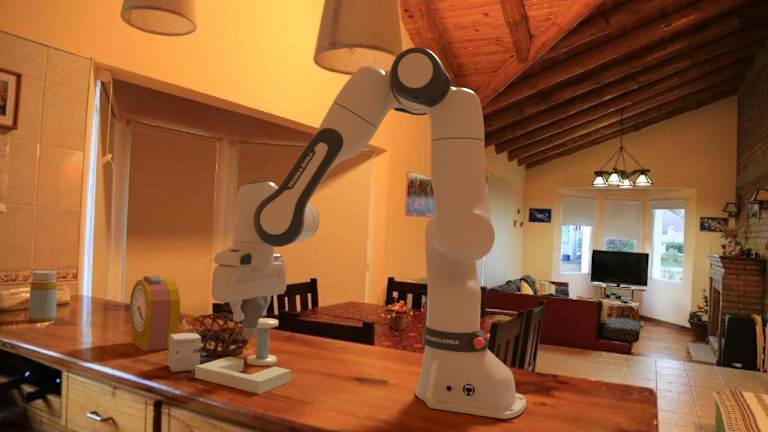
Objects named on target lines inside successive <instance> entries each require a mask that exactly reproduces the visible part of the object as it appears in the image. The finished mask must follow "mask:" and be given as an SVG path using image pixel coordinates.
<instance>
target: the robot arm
mask: <svg viewBox="0 0 768 432" xmlns="http://www.w3.org/2000/svg"><path fill="white" fill-rule="evenodd" d="M446 71H447V70H446V69H445V67H444V66H443V64H442V62H441V61H440V59H439V58H438V56H437V55H435V54H434V53H433V52H432V51H430V49H426V48H424V47H418V46H417V47H416V46H415V47H410V48H407V49H405V50H403V51H401V52H400V53H399V54H397V56H396V57H395V58H394V60H393V62H392V63H391V67H390V71H385V70H383V69H381V68H378V67H376V66H372V65H364V66H361V67H359V68H358V69H357V70H356V71H355V72H354V73H353V74H352V75H351V76H350V77H349V78H348V80H347V81H346V82H345V83H344V85H343V86H342V88H341V89H340V91H339V92H338V93H337V95H336V96H335V98H334V100H333V102H332V103H331V105H330V107H329V108H328V110H327V112H326V114H325V115H324V117H323V120H322V121H321V123H320V125H319V127H318V128H317V130H316V131H315V134H313V136H312V139H311V140H310V141H309V142H308V143H307V146H305V148H304V149H303V151H302V153H301V154H300V156H299V157H298V159H297V160H296V162H295V163H294V165H293V166H292V168H291V169H290V171H289V172H288V174H287V175H286V177H285V178H284V180H283V182H281V184H280V185H279V186H277V184H276V183H274V182H272V181H267V180H262V181H260V180H258V181H251V182H250V181H249V182H247V183H244V184H243V185H241V187H239V189H238V192H237V197H236V201H235V210H234V224H235V234H234V237H233V241H232V243H233V244H232V245H230V247H228V248H226V249H223V250H221V251H220V252H217V253H216V254H215V255H214V259H213V261H214V262H213V263H214V264H215V265H216V266H214V269H213V273H212V278H211V291H210V292H211V297H212V298H213V300H214V302H219V303H229V306H230V308H231V311H232V313H233V315H232V318H233V321H234V322H242V320H244V314H245V312H242V311H241V308H240V305H242V300H246V299H252V298H254V297H257V296H260V297H262V299H263V301H264V304H265V307H264V311H263V313H262V315H261V316H260V318H264V317H266V316H267V309H268V307H269V305H270V303H271V300H272V296H277V295H283V294H285V292H286V290H287V270H286V266H285V259H284V257H283V256H282V255H281V254H280V253H275V249H276V248H277V247H278V248H280V247H284V246H285V247H286V246H289V245H291V244H296V243H301V242H305V241H306V240H309V239H310V238H312V237H313V236H314V235H315V234H316V233H317V231H318V229H319V225H320V215H319V212H318V210H317V209H316V207H315V206H314V205H313V204H312V203H311V202H310V201H311V200H312V198H313V196H314V194H315V193H316V192H317V190H318V188H319V187H320V185H321V183H322V182H323V180H324V179H325V177H326V176H327V175H328V173H329V172H331V170H332V169H333V168H334V167H335V166H337V165H338V164H340V163H341V162H343V161H345V160H348V159H350V158H354V157H356V156H358V155H360V154H361V153H362V151H364V149H366V147H367V146H368V144H369V143H370V142H371V141H372V139H373V138H374V137H375V135H376V133H377V131H378V130H379V127H380V126H381V124H382V123H383V120H384V119H385V117H387V115H388V114H389V113H390V111H392V110H393V111H395V112H398V113H399V112H400V113H405V114H409V115H411V116H428V117H429V121H430V127H431V128H430V133H431V134H430V142H431V143H430V182H431V184H432V185H431V187H432V190H433V191H432V193H433V199H434V200H433V201H434V209H435V214H433V215H432V216H431V217H430V219H428V221H427V224H426V226H425V232H424V237H425V238H424V239H425V264H426V265H425V266H426V278H427V280H426V281H427V300H426V324H425V325H424V327H423V334H422V351H423V358H422V364H421V370H420V375H419V378H418V382H417V386H416V388H415V392H414V393H415V395H416V397H418V398H419V399H420V400H422V401H424V402H425V404H426V406H427V407H428V408H430V409H434V410H442V411H447V412H448V411H449V412H455V413H463V414H470V415H474V416H481V417H482V416H483V417H488V418H496V419H501V420H502V419H503V420H506V419H507V420H508V419H513V418H515V417H517V416H519V415H520V414H522V413H524V411H525V409H526V408H527V399H526V397H525V396H524V395H522V394H521V393H518V392H516V383H515V377H514V374H513V372H512V370H511V369H510V368H509V367H508V366H506V365H505V364H504V363H503V362H502V361H501V360H500V359H499V358H498V357H496V355H495V354H494V353H493V352H491V351H490V350H489V340H490V336H491V334H490V333H487V334H486V333H485V332H484V331H483V330H482V329H481V328H480V325H481V303H482V289H481V286H480V282H479V276H478V270H477V269H478V268H477V261H479V260H481V259H483V258H485V257H486V256H487V255H489V253H490V252H491V251H492V248H493V247H494V243H495V239H496V237H495V235H496V234H495V229H494V225H493V223H492V221H491V216H490V214H491V213H490V207H489V201H488V196H487V195H488V194H487V190H486V183H485V182H486V181H485V180H486V179H485V124H484V116H483V109H482V104H481V100H480V98H479V96H478V94H477V93H475V92H474V91H473V90H470V89H468V88H465V87H454V86H452V80H451V78H450V76H449V74H448V73H447V72H446Z"/></svg>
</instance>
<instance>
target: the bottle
mask: <svg viewBox="0 0 768 432" xmlns="http://www.w3.org/2000/svg"><path fill="white" fill-rule="evenodd" d="M31 278H32V281H31V282H32V283H31V285H30V287H29V304H28V320H29V321H30V322H31V323H48V322H53V321H54V320H55V319H56V316H57V302H58V301H57V296H58V285H57V284H58V283H57V281H56V280H57V271H55V270H34V271H32V276H31Z"/></svg>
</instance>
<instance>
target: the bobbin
mask: <svg viewBox="0 0 768 432" xmlns="http://www.w3.org/2000/svg"><path fill="white" fill-rule="evenodd" d="M275 327H276V328H277V327H279V320H278V319H277V318H276V319H275V318H269V317H268V318H267V317H260V318H259V320H258V325H257V327H256V342H255V343H256V344H255V345H256V346H255V354H251V355H249V356H247V358H246V363H247V364H248V365H250V366H255V367H268V366H273V365H275V364H276V363H277V359H278V358H277V356H276V355H272V354H269V352H270V350H269V349H270V334H271V333H270V332H271V329H273V328H275Z"/></svg>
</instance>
